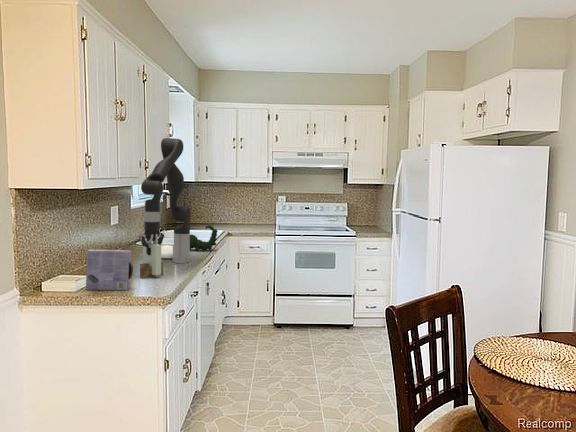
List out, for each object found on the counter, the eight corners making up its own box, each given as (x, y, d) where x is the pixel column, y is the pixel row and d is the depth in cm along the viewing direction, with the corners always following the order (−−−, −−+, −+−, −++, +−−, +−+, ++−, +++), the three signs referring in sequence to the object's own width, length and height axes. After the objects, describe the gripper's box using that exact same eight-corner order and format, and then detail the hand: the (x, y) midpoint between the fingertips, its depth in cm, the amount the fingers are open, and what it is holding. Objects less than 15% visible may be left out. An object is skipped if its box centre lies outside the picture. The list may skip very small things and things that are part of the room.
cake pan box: (133, 287, 208) (133, 249, 206) (131, 290, 203) (131, 251, 201) (88, 287, 205) (88, 249, 203) (85, 290, 200) (85, 250, 198)
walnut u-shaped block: (142, 278, 226) (142, 264, 225) (140, 277, 227) (140, 264, 227) (163, 275, 235) (163, 261, 235) (160, 274, 237) (160, 261, 236)
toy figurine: (215, 252, 319) (179, 248, 317) (218, 225, 318) (182, 221, 315) (214, 254, 310) (177, 250, 308) (217, 227, 308) (180, 222, 306)
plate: (198, 249, 293) (166, 254, 271) (197, 258, 294) (165, 264, 272) (168, 239, 308) (136, 244, 286) (168, 249, 309) (135, 254, 287)
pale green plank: (142, 272, 233) (143, 242, 232) (148, 271, 236) (148, 242, 234) (156, 275, 226) (156, 245, 225) (161, 274, 229) (161, 244, 228)
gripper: (159, 219, 237) (159, 252, 238) (135, 220, 226) (135, 255, 227) (168, 220, 232) (168, 254, 233) (144, 222, 221) (144, 257, 222)
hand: (151, 254), depth 230 cm, fingers closed on pale green plank, 3 cm apart
